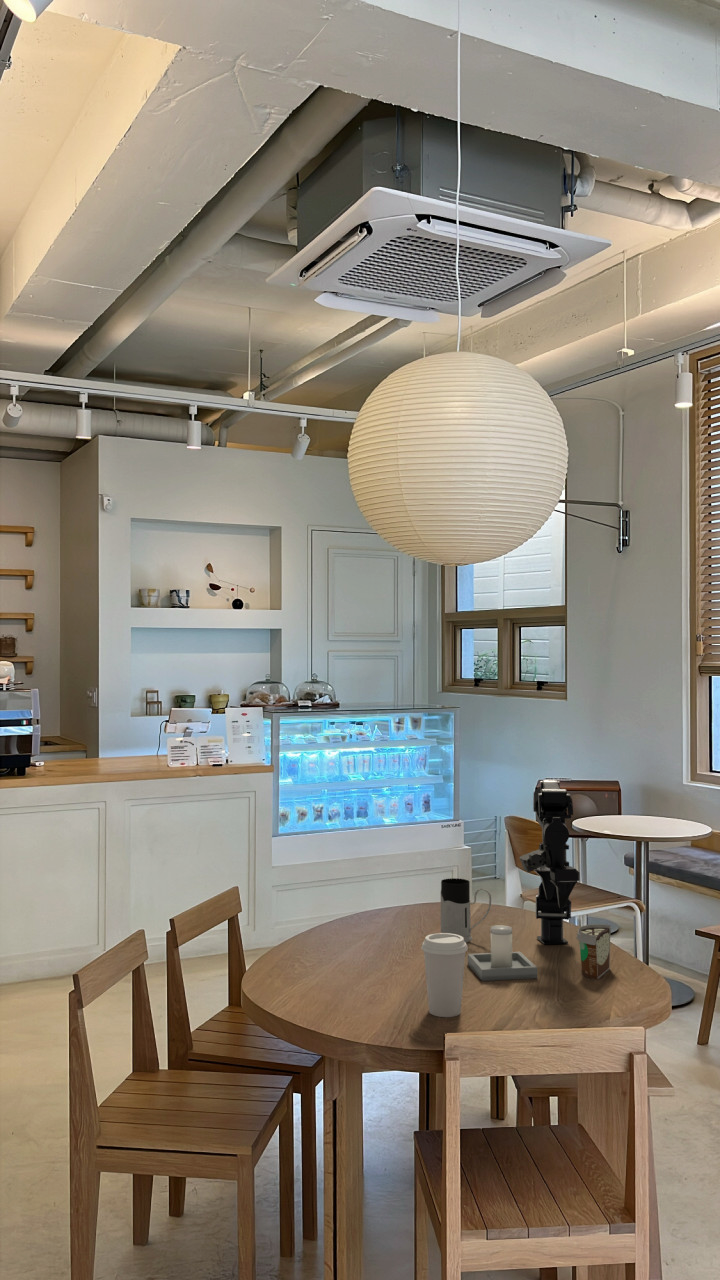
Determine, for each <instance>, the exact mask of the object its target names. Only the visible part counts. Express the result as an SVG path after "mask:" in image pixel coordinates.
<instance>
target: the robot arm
mask: <svg viewBox="0 0 720 1280" xmlns="http://www.w3.org/2000/svg"><path fill="white" fill-rule="evenodd" d="M532 798H533V801H532V806H533V807H532V809H533V810H532V811H533V812H534V813H535V820H536V822H537V823H538V825H539V826H540V828H541V833H542V836H541V839H542V842H540V843H539V845H538V848H539V849H536V850H533V851H530V852H528V853H525V854H523V855H520V856H519V860H520V863H521V866H522V868H523V870H525V871H526V872H527V873H528V872H529V873H531V872H533V871H534V873H536V874H537V875H538V876H539V877H540V880H541V882H540V884H539V886H538V889H537V890H538V891H537V893H538V894H536V895H535V907H534V909H535V919H536V920H537V919H540V935H537V936H536V939H537V940H538V941H539V942H541V943H542V944H543V945H558V944H559V945H562V944H563V945H564V944H569V941H568V940H567V939H565V938H564V920H566V921H567V920H569V919H571V918H572V901H571V899H570V895H571V893H572V892H573V890H574V888H575V885H576V884H578V882H579V881H581V879H580V877H581V876H580V875H581V873H580V871H579V870H578V869H577V868H575V867H573V866H572V865H571V866H570V862H569V861H568V860H567V851H568V850H570V845H569V844H567V842H568V841H569V838H570V832H569V829H568V827H567V821H566V820H567V819H568V820H569V819H572V816H574V805H573V804H574V803H573V798H572V797H571V794H570V793H568V791H567V789H566V788H561V786H560V781H558V780H557V779H555V780H554V779H552V780H551V779H543V780H540V781H539V786H538V788H537V789H535V790H533V795H532ZM569 921H570V920H569Z"/></svg>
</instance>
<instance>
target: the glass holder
mask: <svg viewBox="0 0 720 1280" xmlns="http://www.w3.org/2000/svg"><path fill="white" fill-rule="evenodd" d="M470 884H471V883H470V880H468V879H464V878H445V879H441V882H440V933H451V934H457V935H460V936H462V937H463V938H464V942H465V943H469V942H471V941H473V937H472V930H473V929H474V928H475V927H476V926H478V925H479V924H480V923H481V922H482V921H484V920H485V919H486V917H487V916H488V914H489V912H490V910H491V906H492V897H491V896H492V895H491V893H490V891H489V890H488V889H486V888H478V889H477V890H476V891H475V893H474V901H473V902H471V900H470V899H471V897H470V894H471V893H470V892H471V891H470V889H471V885H470ZM479 891H485V892H486V894H488V898H489V901H488V902H489V903H488V908H487V910H486V913H485V914H484V916H483V917H482V918H481V919H480V920H479V921H478V922H476V923H475V924H473V925H472V926H471V905H475V903H476V901H477V896H478V893H479Z"/></svg>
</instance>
